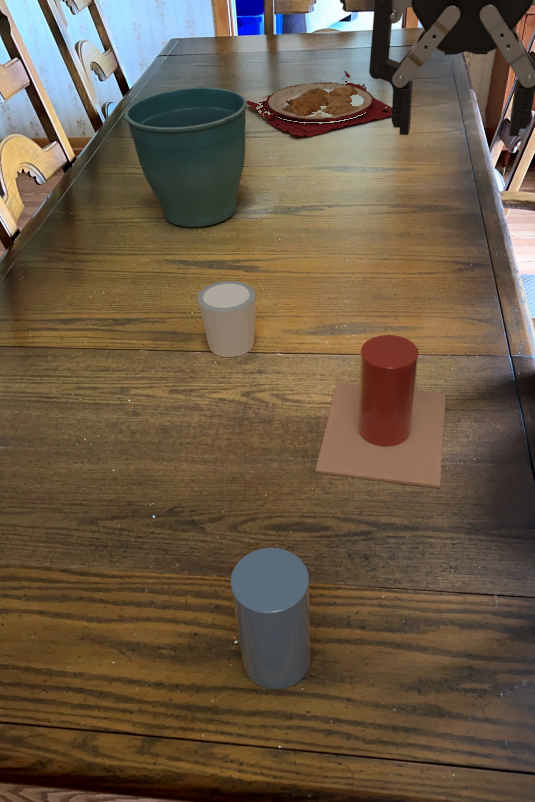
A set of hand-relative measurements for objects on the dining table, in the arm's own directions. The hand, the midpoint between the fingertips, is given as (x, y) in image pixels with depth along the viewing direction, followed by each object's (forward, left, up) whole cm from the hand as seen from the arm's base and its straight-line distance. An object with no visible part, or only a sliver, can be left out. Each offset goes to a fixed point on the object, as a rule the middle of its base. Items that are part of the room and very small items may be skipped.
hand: (457, 132), depth 58 cm
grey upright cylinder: (+10, +31, -30) cm, 44 cm away
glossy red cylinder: (+4, +4, -29) cm, 30 cm away
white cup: (+24, -9, -30) cm, 39 cm away
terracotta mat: (+4, +4, -30) cm, 30 cm away
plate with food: (+27, -94, -30) cm, 102 cm away
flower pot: (+39, -44, -30) cm, 66 cm away
